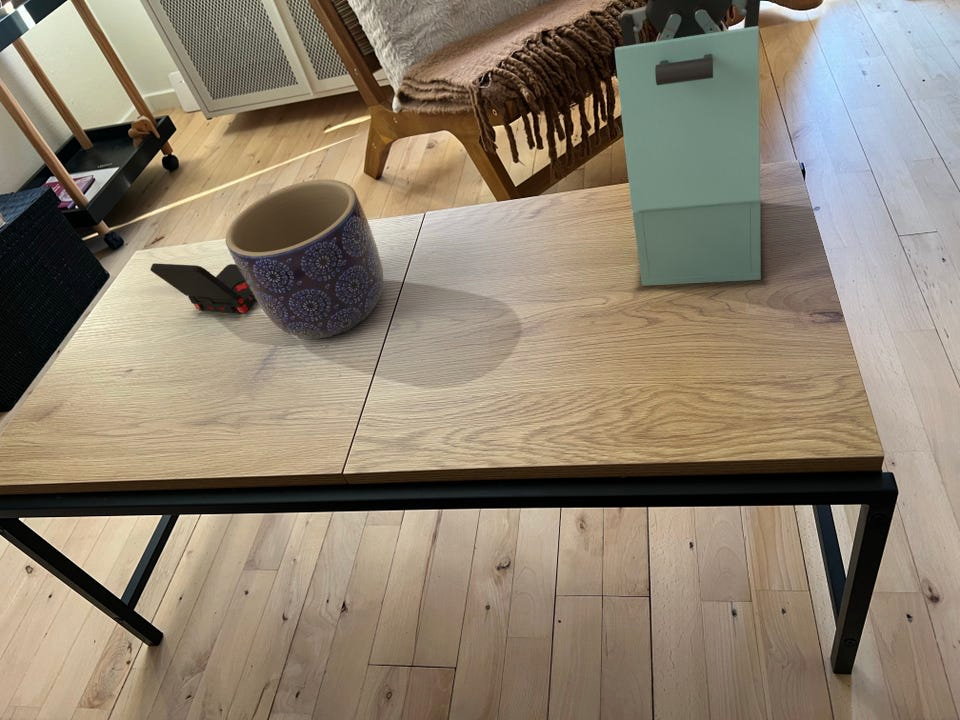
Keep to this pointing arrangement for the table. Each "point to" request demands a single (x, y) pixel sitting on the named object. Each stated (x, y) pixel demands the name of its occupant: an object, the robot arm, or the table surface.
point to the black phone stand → (209, 287)
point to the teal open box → (699, 243)
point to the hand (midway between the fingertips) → (694, 98)
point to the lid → (691, 119)
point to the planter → (309, 258)
